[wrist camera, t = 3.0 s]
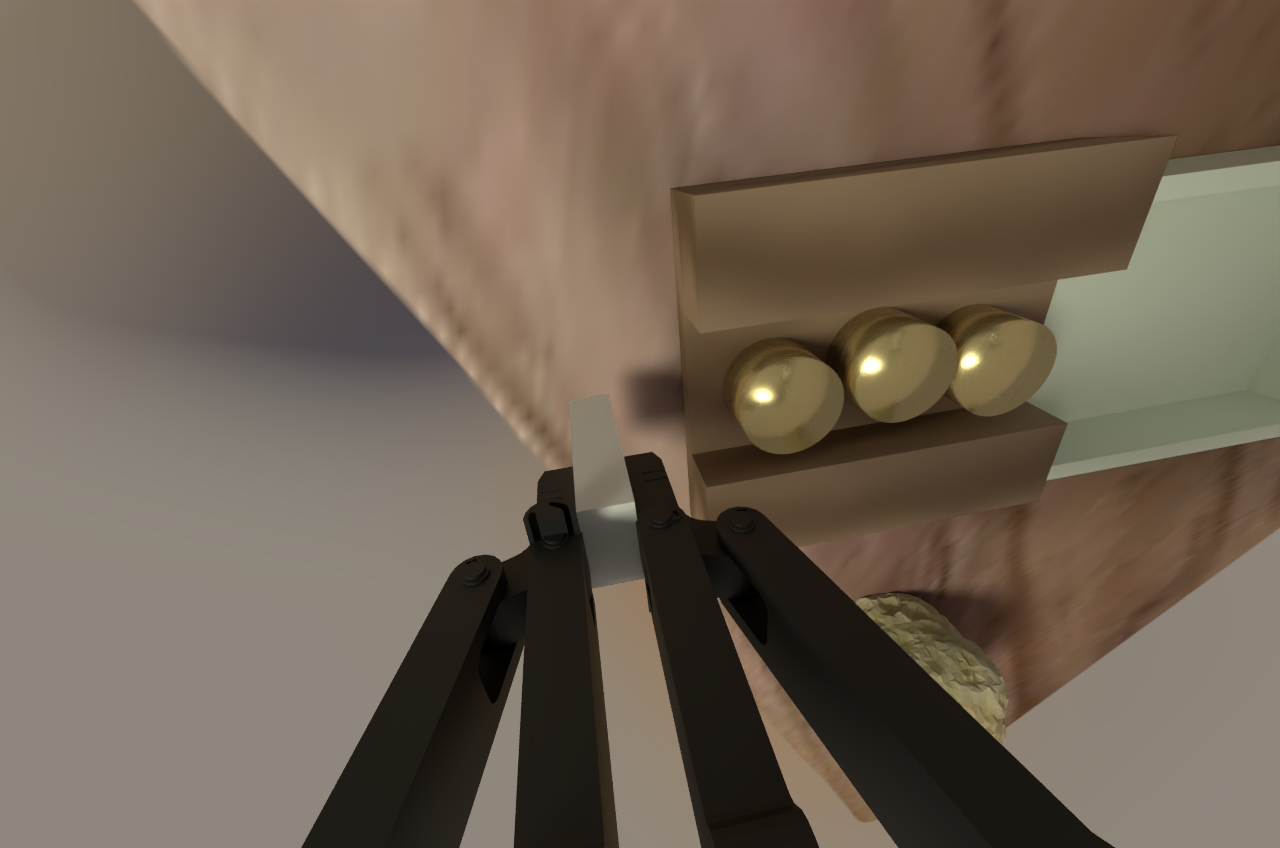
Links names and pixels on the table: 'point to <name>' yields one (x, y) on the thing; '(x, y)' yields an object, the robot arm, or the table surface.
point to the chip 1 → (782, 395)
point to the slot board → (898, 278)
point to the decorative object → (943, 655)
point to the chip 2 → (892, 363)
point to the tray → (1176, 325)
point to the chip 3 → (997, 358)
